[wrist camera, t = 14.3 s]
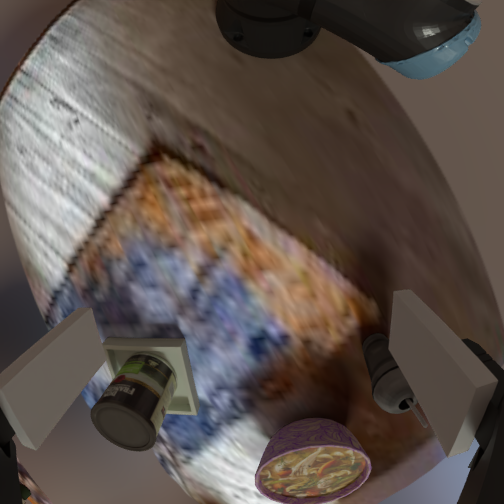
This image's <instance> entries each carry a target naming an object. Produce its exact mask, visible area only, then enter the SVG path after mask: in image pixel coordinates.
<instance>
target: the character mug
mask: <svg viewBox="0 0 504 504" xmlns="http://www.w3.org/2000/svg"><path fill="white" fill-rule="evenodd" d="M20 490H21V497H22V503H23V504H25V503H26V502H25V501H24V500H26V499H27V498H28V497H29V496H30V495H31V493H30V491H29V490H28V489H27V488H26V487H24V486H23V485H20Z"/></svg>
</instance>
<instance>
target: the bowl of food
mask: <svg viewBox="0 0 504 504" xmlns="http://www.w3.org/2000/svg"><path fill="white" fill-rule="evenodd" d="M370 471H371V463H370V459H369V457H368V456H367V454H366V453H365V451H364V450H363V448H362V447H361V445H360V444H359V442H358V441H357V439H356V438H355V437H354V435H353V434H352V433H351V432H350V431H349V430H348V429H347V428H346V427H345V426H344V425H342V424H339V423H337V422H335V421H333V420H331V419H324V418H306V419H302V420H298V421H294V422H292V423H290V424H288V425H286V426H284V427H283V428H282V429H280V430H279V431H278V432H277V433H276V434H275V435H273V436H272V437H271V439H270V441H269V443H268V445H267V447H266V449H265V451H264V453H263V456H262V458H261V461H260V464H259V466H258V469H257V471H256V474H255V486H256V487H257V489H258V490H259V491H260V493H261V494H263V495H264V496H266V497H267V498H269V499H271V500H273V501H276V502H279V503H283V504H322V503H326V502H331V501H334V500H337V499H339V498H341V497H344V496H346V495H348V494H350V493H351V492H353V491H354V490H356V489H357V488H359V487H360V486H361V485H362V484H363V483H364V482H365V481H366V480H367V478H368V476H369V474H370Z"/></svg>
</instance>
